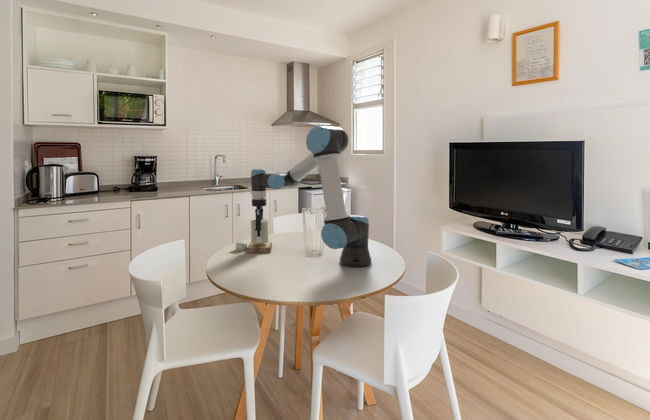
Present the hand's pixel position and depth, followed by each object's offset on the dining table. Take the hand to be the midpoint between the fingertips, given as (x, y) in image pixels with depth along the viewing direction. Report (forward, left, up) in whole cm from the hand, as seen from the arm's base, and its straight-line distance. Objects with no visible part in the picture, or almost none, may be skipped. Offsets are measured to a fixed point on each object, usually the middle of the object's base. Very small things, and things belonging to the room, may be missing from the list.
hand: (259, 240), depth 195 cm
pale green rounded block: (+7, +8, -5) cm, 11 cm away
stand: (0, 0, -5) cm, 5 cm away
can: (0, 0, -1) cm, 1 cm away
